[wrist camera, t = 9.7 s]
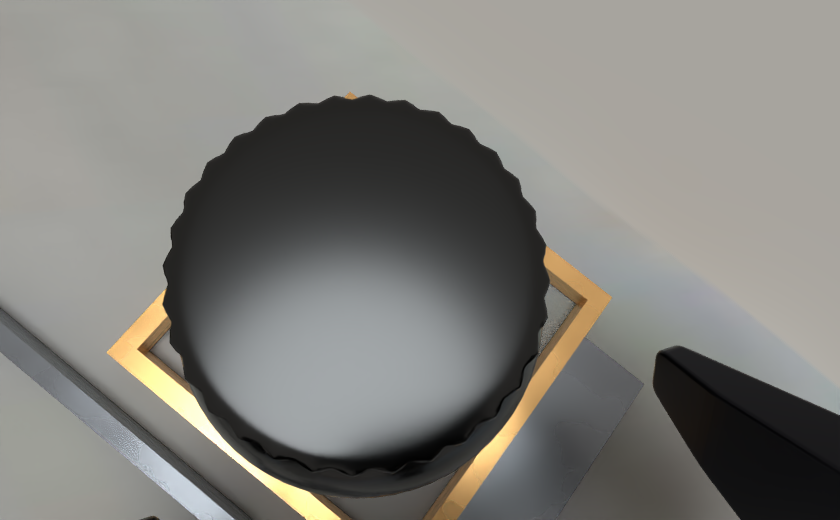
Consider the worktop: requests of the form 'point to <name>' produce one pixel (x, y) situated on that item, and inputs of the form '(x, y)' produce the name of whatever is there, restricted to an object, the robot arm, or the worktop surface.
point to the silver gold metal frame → (469, 487)
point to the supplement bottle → (357, 296)
